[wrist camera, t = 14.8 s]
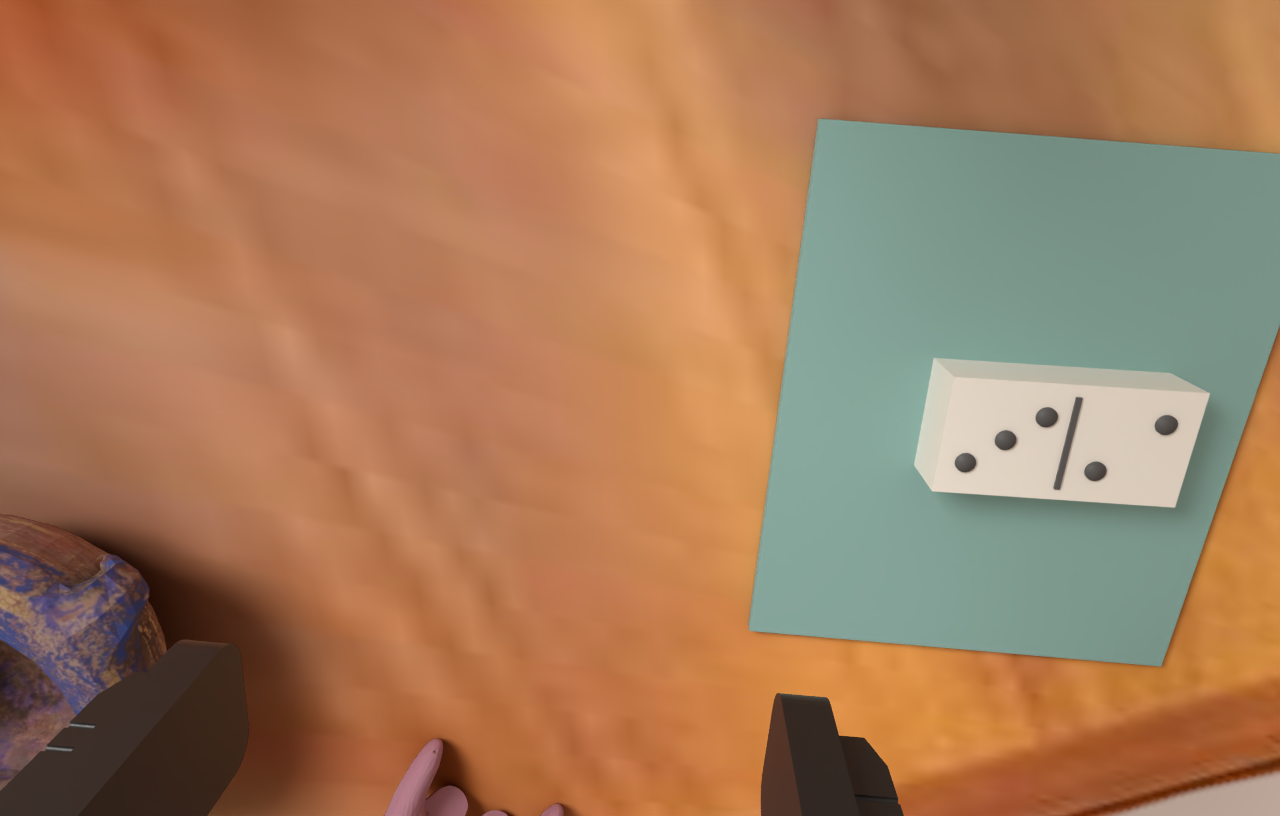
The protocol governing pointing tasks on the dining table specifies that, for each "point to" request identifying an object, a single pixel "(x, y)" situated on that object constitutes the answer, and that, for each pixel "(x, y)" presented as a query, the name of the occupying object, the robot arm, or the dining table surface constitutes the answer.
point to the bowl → (63, 633)
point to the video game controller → (446, 805)
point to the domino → (1058, 432)
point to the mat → (1013, 333)
